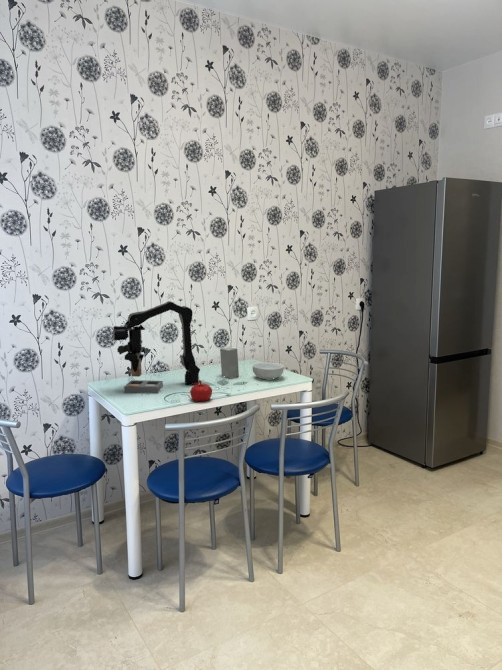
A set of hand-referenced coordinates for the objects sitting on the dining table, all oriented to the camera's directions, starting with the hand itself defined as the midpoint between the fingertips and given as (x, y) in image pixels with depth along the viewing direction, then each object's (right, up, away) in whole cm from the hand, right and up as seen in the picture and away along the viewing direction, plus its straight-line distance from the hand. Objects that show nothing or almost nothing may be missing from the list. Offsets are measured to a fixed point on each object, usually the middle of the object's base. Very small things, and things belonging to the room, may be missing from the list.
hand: (136, 370), depth 247 cm
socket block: (+4, -9, 0) cm, 10 cm away
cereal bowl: (+65, -6, +24) cm, 70 cm away
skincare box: (+45, -5, +27) cm, 52 cm away
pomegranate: (+33, -13, -15) cm, 39 cm away
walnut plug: (0, -2, 0) cm, 2 cm away
